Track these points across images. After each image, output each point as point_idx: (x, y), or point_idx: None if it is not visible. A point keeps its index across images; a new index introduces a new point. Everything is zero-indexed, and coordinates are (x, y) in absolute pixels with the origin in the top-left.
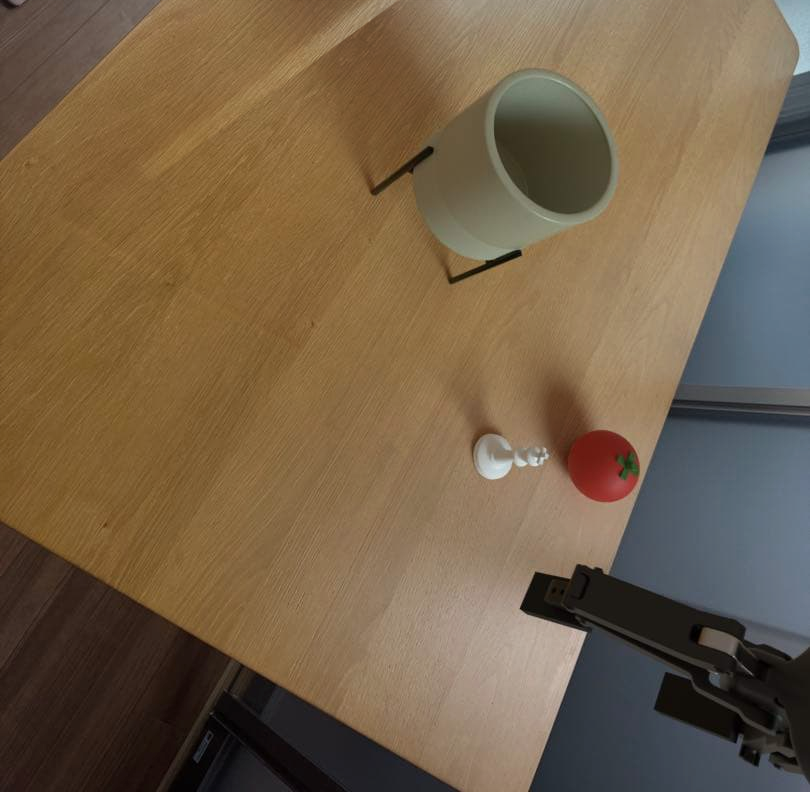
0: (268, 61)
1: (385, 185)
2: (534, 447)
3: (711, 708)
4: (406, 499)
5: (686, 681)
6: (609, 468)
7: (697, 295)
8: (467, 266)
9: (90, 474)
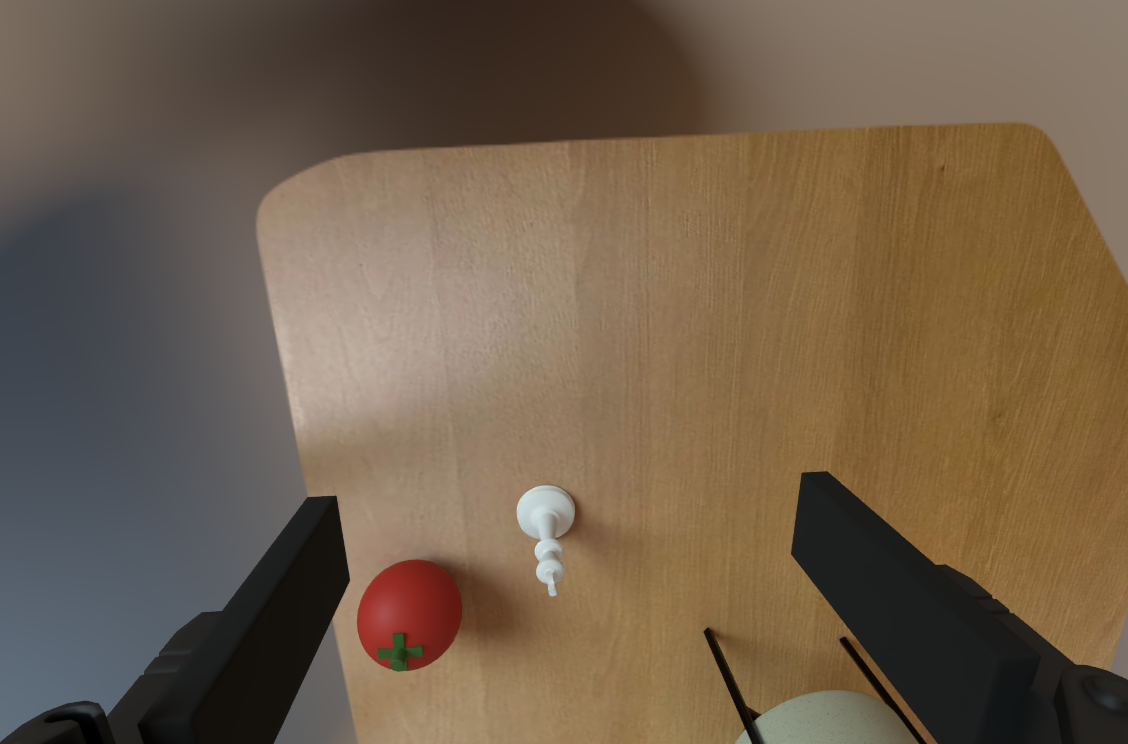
0: None
1: (864, 665)
2: (558, 581)
3: (263, 684)
4: (623, 401)
5: (323, 630)
6: (422, 629)
7: None
8: (697, 656)
9: (982, 204)
